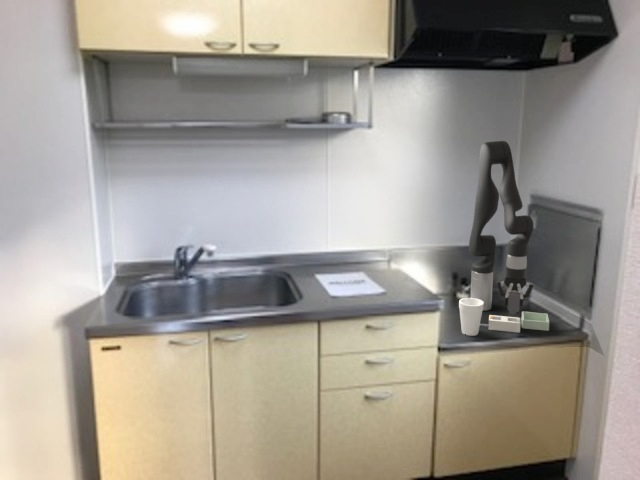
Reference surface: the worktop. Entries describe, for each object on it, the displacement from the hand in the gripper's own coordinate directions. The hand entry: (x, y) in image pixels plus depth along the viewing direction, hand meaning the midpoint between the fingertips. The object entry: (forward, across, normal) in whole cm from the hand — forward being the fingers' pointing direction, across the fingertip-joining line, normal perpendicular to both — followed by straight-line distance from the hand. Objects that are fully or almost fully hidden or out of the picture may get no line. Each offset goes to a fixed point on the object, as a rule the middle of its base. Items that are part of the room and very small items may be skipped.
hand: (513, 306), depth 214 cm
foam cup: (+10, +16, +8) cm, 21 cm away
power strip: (+10, +6, 0) cm, 11 cm away
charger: (+3, 0, 0) cm, 3 cm away
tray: (+10, -9, -7) cm, 15 cm away
